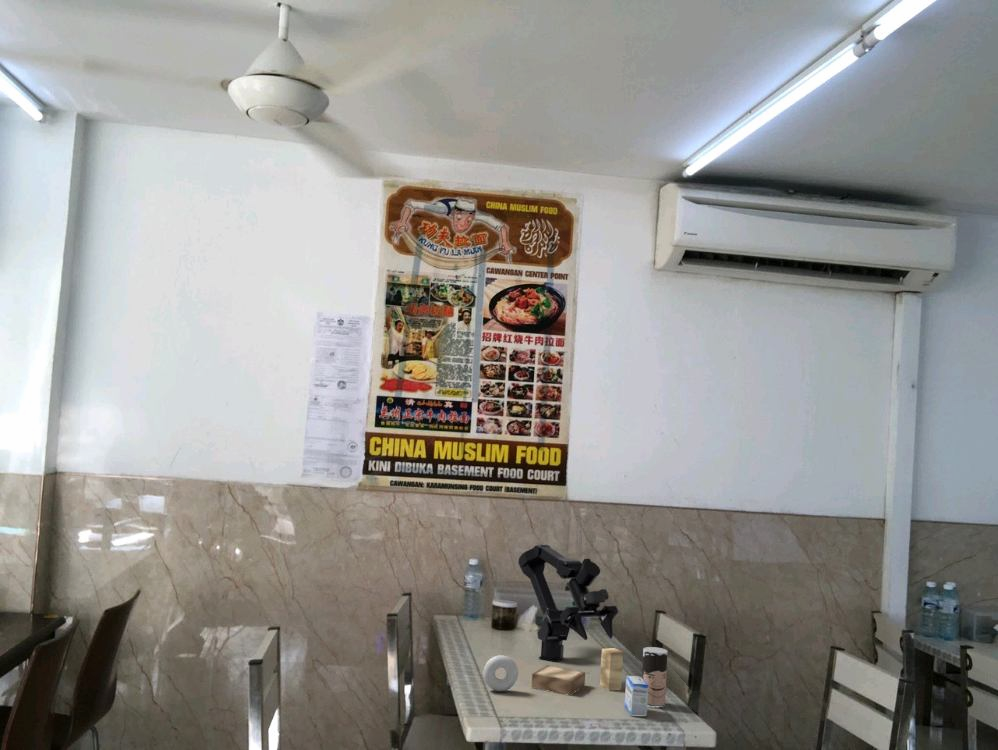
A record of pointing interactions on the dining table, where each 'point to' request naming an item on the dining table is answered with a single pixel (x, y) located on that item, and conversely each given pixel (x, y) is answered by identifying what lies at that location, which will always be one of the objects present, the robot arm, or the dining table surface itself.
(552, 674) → the plinth
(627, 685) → the medicine box
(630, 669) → the dining table surface
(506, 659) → the donut
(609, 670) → the oak block
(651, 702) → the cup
